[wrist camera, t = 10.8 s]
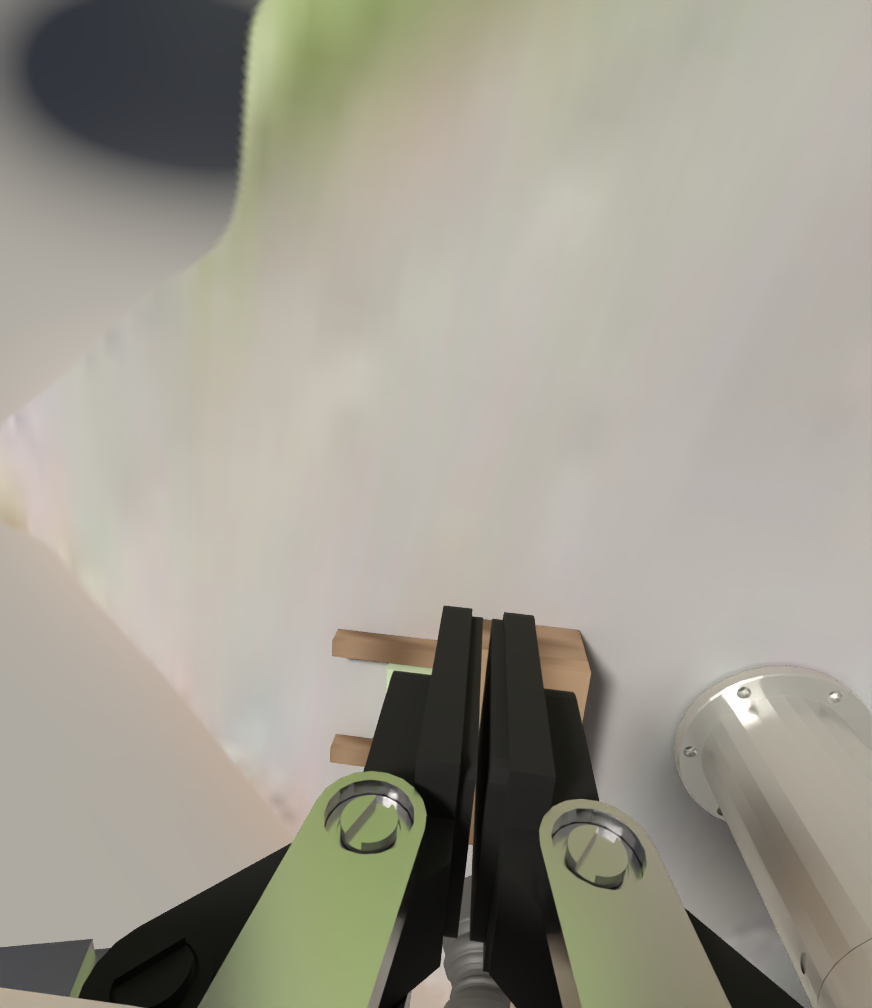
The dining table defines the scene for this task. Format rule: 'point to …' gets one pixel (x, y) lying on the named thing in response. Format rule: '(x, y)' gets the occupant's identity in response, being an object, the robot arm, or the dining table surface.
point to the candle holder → (469, 966)
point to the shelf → (558, 665)
